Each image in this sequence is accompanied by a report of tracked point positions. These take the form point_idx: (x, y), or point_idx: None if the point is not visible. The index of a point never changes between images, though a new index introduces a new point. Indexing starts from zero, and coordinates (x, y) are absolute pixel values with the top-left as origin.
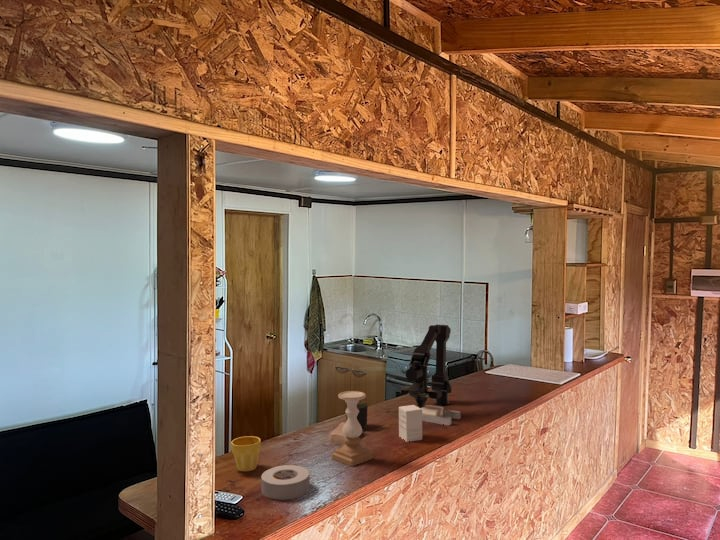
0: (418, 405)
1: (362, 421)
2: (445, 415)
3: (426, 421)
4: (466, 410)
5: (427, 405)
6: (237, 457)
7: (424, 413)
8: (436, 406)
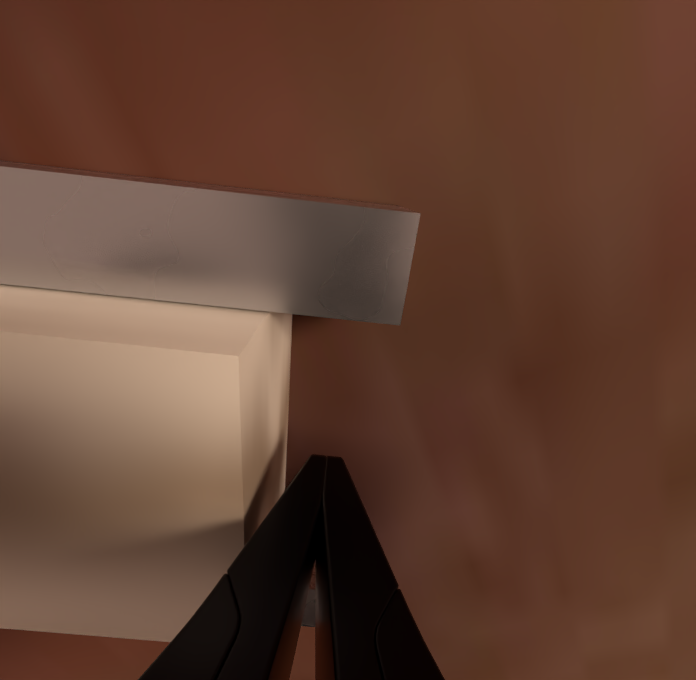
0: (362, 538)
1: None
2: None
3: (116, 174)
4: (44, 670)
5: None
6: None
7: (119, 271)
8: (27, 612)
